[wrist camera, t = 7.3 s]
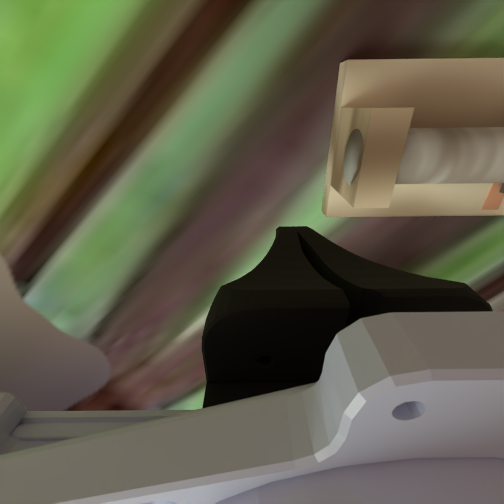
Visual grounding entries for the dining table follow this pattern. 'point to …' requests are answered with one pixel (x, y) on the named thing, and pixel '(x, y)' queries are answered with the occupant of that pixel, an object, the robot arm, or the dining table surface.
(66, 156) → the dining table surface
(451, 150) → the pipe stand
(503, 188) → the dark grey z bracket
